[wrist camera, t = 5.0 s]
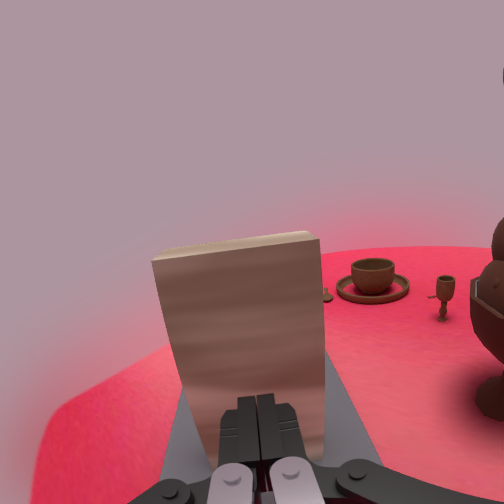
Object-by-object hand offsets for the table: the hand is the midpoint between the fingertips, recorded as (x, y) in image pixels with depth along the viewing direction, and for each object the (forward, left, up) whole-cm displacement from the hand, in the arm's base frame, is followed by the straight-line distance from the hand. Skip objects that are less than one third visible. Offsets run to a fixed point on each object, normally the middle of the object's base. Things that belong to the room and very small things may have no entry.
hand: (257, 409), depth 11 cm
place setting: (-33, -3, -9) cm, 34 cm away
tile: (-3, -2, -8) cm, 8 cm away
